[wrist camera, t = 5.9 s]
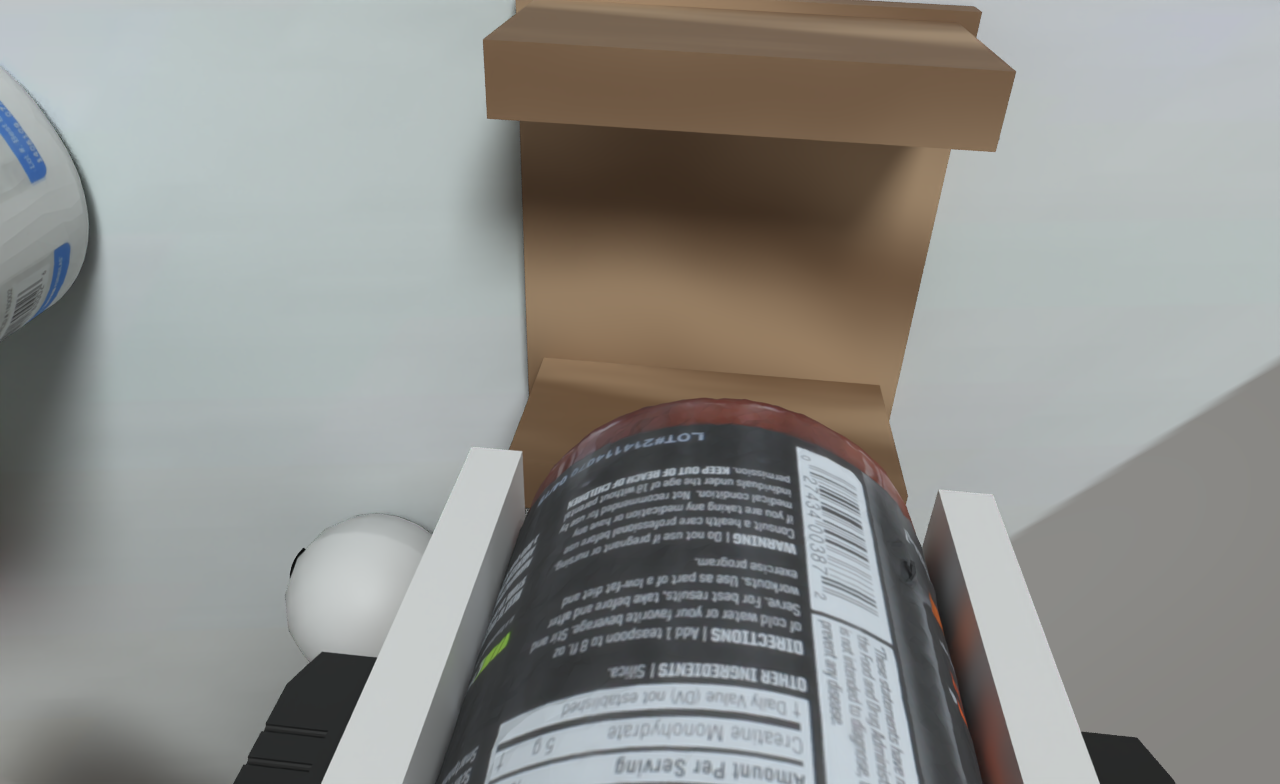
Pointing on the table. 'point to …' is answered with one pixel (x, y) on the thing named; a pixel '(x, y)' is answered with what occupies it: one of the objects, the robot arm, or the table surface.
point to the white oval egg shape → (352, 584)
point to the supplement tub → (35, 211)
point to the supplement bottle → (714, 617)
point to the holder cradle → (730, 201)
